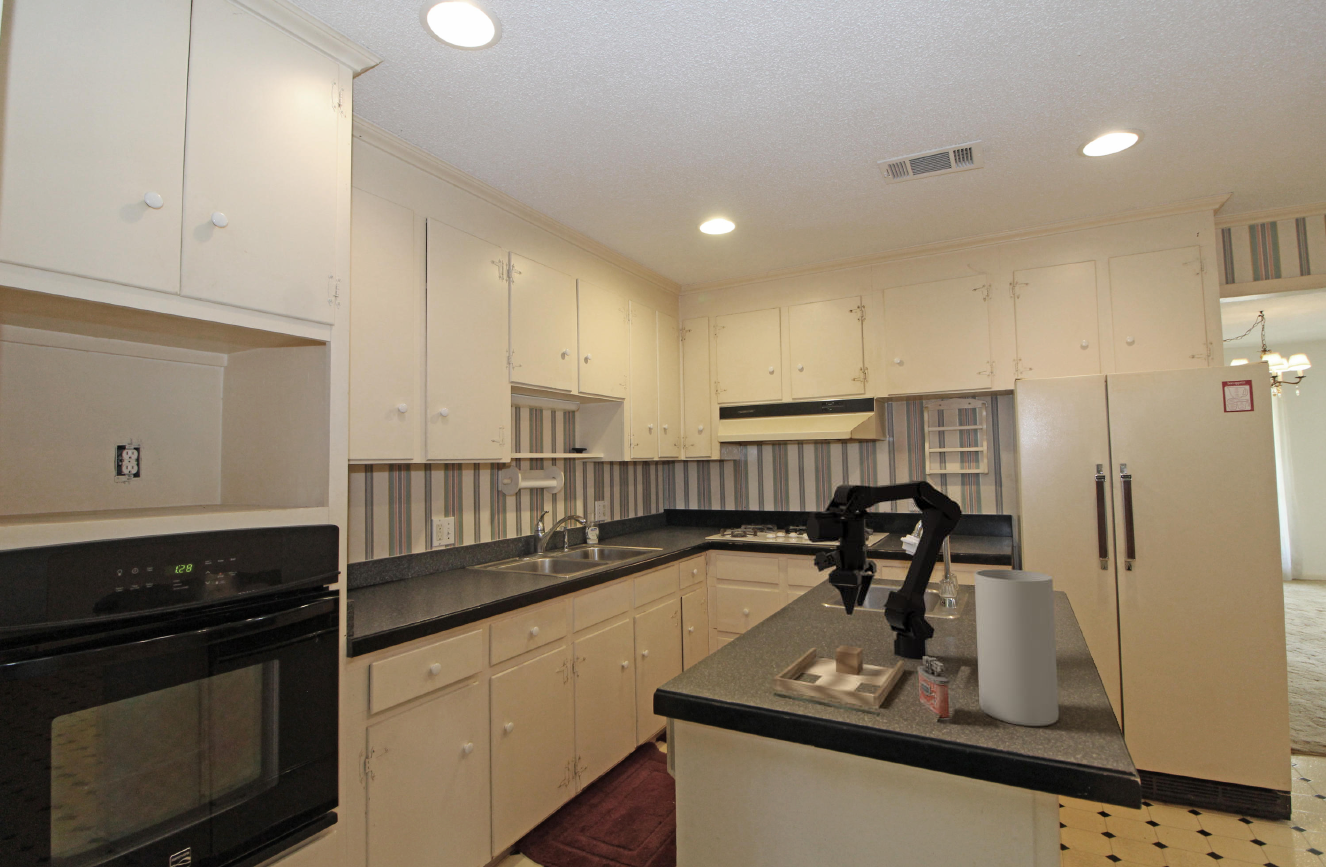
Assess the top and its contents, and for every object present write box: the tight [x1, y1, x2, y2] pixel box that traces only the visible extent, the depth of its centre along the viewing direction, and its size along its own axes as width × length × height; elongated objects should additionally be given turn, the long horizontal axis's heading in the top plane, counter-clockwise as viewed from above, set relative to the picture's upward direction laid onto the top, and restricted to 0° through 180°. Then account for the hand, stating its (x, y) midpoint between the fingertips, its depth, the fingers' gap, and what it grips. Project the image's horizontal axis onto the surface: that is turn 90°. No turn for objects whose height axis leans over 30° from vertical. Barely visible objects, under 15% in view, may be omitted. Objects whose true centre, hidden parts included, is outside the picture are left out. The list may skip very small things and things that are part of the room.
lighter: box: [917, 655, 952, 725], centre depth 113 cm, size 8×3×10 cm, turn 5°
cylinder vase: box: [974, 568, 1060, 727], centre depth 114 cm, size 12×12×25 cm
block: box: [835, 645, 864, 676], centre depth 133 cm, size 4×4×4 cm
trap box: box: [773, 647, 905, 717], centre depth 128 cm, size 20×24×4 cm
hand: (854, 610), depth 140 cm, fingers open, 9 cm apart
